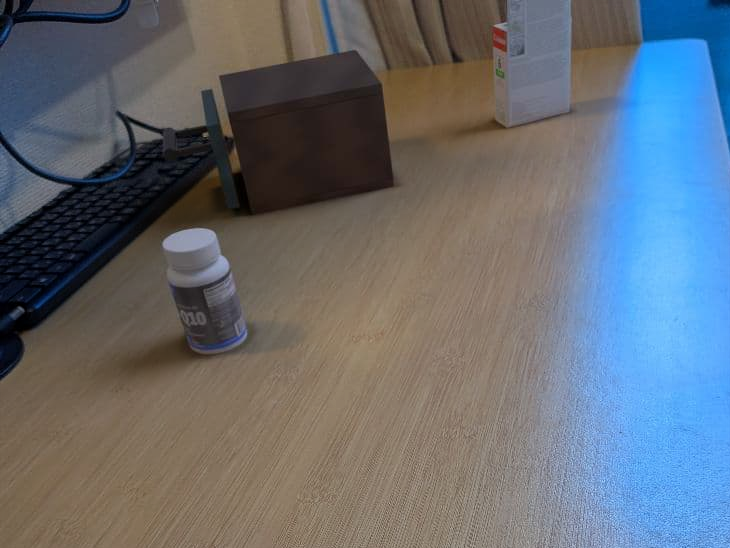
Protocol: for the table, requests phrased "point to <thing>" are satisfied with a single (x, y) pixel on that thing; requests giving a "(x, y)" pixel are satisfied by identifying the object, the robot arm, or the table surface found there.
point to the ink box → (532, 61)
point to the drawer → (205, 146)
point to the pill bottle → (204, 291)
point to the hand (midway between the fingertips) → (150, 17)
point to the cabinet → (308, 130)
